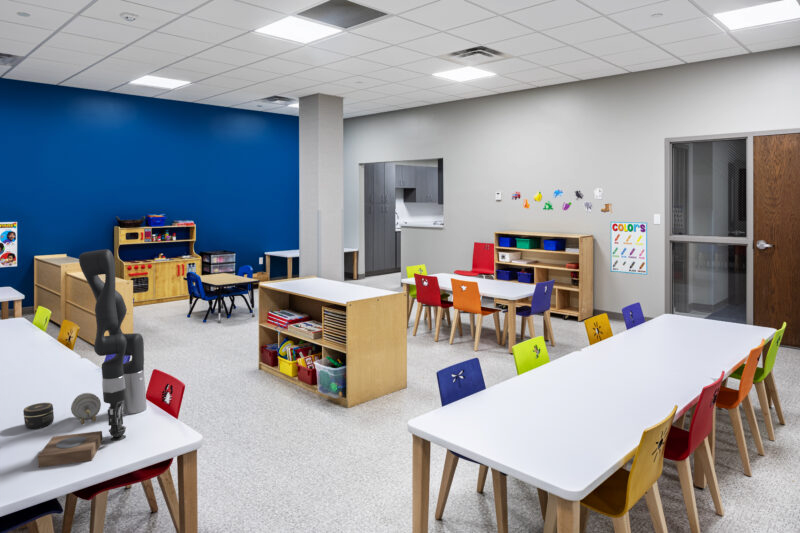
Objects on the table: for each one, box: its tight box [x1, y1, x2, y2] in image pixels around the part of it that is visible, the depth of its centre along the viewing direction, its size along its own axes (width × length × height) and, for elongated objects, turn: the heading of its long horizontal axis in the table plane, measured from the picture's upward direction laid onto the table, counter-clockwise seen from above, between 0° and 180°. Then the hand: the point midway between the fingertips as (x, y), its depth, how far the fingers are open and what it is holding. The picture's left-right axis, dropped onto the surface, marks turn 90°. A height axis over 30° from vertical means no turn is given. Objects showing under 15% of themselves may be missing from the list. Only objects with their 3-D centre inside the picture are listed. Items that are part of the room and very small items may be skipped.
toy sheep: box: [70, 392, 102, 425], centre depth 222 cm, size 11×17×11 cm, turn 39°
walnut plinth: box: [37, 430, 104, 468], centre depth 193 cm, size 16×16×4 cm
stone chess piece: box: [108, 413, 127, 442], centre depth 204 cm, size 6×6×12 cm
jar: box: [22, 402, 55, 430], centre depth 218 cm, size 10×10×8 cm
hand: (117, 429), depth 205 cm, fingers open, 8 cm apart
